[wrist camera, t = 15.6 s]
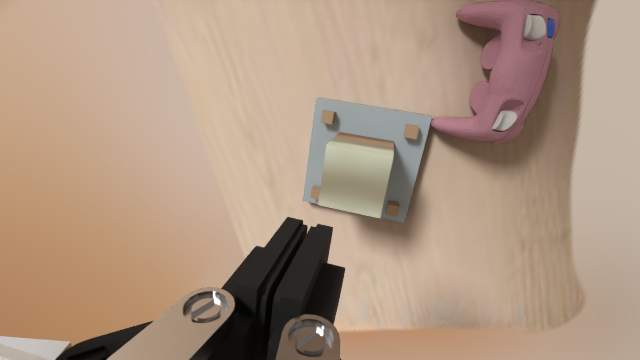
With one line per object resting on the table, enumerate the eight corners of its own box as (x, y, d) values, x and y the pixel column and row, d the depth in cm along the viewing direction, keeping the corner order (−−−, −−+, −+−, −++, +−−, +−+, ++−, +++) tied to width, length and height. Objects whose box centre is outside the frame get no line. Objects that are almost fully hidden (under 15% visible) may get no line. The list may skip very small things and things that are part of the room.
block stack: (339, 131, 28) (326, 144, 22) (393, 141, 27) (393, 156, 21) (332, 181, 29) (318, 205, 24) (382, 191, 28) (380, 218, 23)
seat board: (319, 97, 28) (313, 98, 26) (430, 115, 27) (433, 118, 25) (306, 196, 32) (300, 204, 30) (404, 218, 30) (404, 228, 28)
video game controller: (466, 133, 28) (533, 154, 22) (423, 129, 27) (480, 150, 20) (501, 12, 25) (591, -5, 18) (453, 2, 24) (532, -20, 17)
